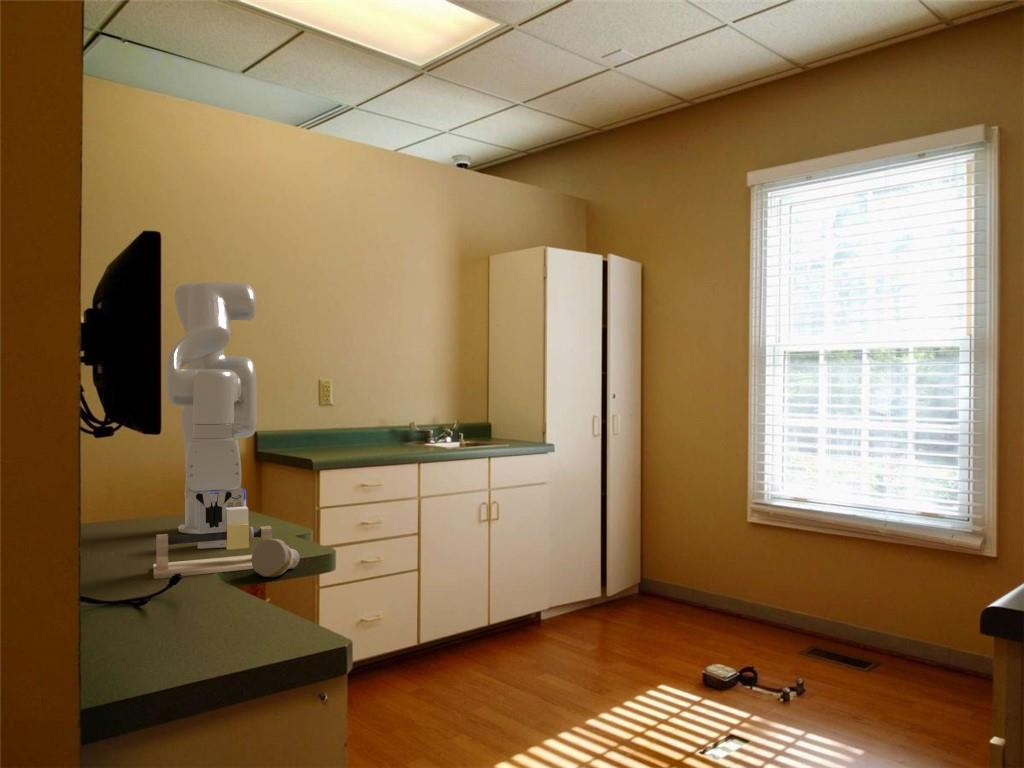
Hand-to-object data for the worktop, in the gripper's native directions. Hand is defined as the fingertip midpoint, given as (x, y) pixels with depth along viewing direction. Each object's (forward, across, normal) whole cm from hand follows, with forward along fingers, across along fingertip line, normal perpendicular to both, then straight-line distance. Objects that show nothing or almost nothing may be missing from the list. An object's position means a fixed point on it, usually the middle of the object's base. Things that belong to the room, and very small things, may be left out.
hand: (213, 526), depth 150 cm
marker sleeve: (+4, -4, 0) cm, 6 cm away
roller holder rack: (+8, 0, 0) cm, 8 cm away
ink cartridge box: (+8, -3, -20) cm, 22 cm away
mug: (+8, -11, +9) cm, 17 cm away
